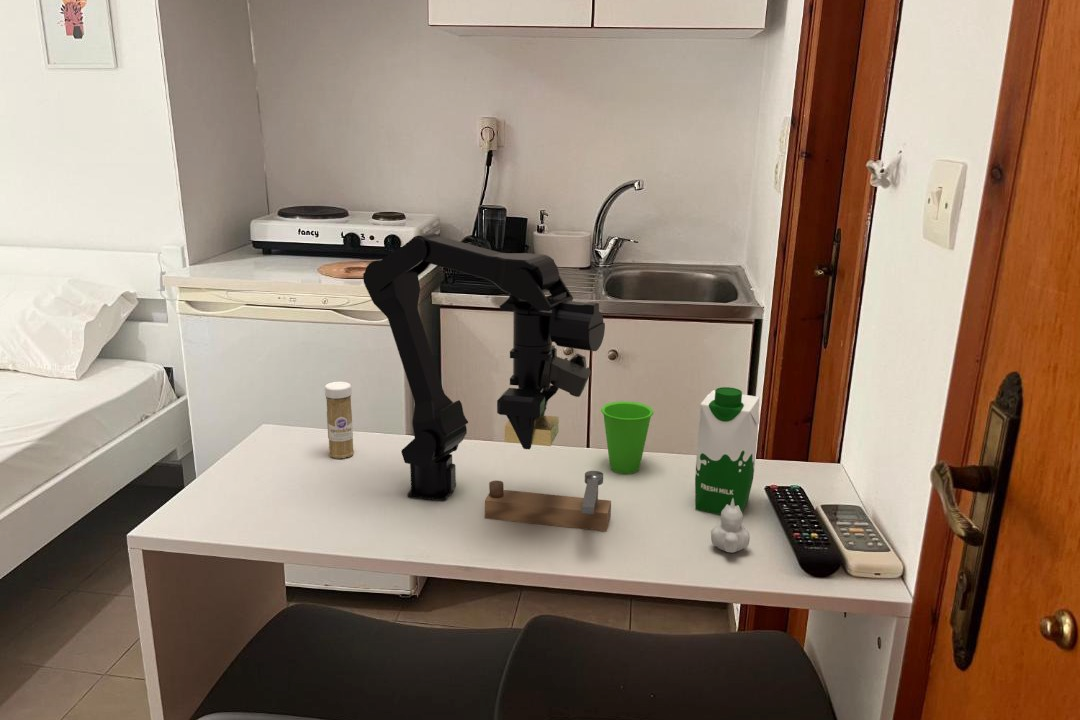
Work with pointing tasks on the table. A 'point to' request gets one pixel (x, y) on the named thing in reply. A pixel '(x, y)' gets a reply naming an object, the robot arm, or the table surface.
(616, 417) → the cup
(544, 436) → the gold metal plate
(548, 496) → the body
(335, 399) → the sprinkles bottle
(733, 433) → the milk carton
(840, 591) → the table surface
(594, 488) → the lever
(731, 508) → the white toy figurine
